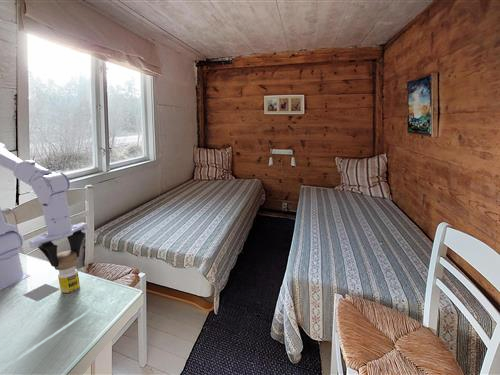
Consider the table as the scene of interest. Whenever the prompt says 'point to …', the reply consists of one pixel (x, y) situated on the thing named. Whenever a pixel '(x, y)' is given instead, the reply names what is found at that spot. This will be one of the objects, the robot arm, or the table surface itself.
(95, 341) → the table surface
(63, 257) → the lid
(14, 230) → the robot arm
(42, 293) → the mat
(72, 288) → the supplement bottle
